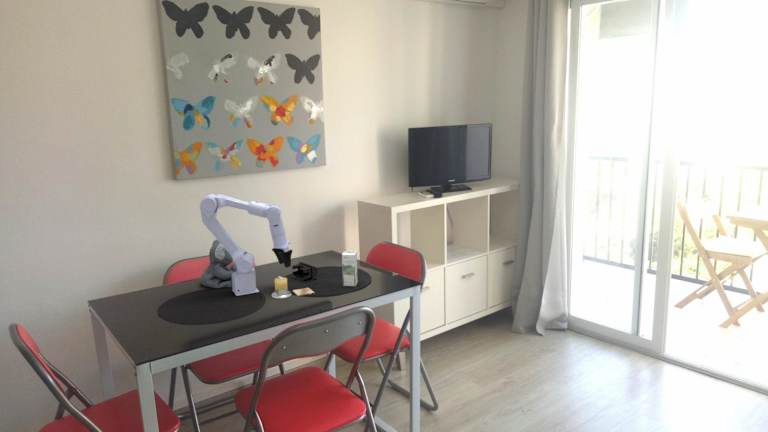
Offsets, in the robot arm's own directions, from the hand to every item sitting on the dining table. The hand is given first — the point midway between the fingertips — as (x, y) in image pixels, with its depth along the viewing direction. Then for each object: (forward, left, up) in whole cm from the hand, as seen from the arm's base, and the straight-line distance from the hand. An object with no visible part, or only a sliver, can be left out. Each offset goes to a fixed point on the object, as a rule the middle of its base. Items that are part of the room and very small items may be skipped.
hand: (285, 265), depth 228 cm
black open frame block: (+12, +10, -11) cm, 19 cm away
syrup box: (+26, -8, -11) cm, 29 cm away
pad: (+5, -7, -11) cm, 14 cm away
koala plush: (-22, +22, -11) cm, 33 cm away
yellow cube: (-4, -6, -8) cm, 11 cm away
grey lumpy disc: (-4, -6, -11) cm, 13 cm away
